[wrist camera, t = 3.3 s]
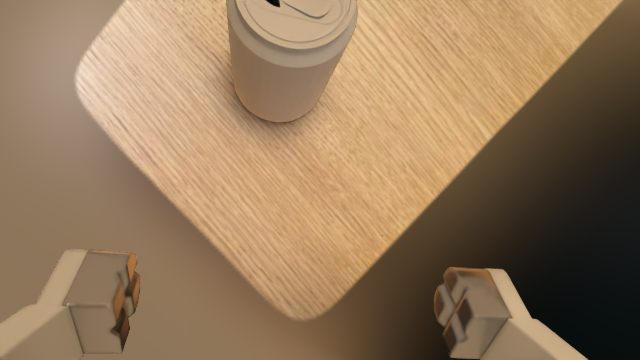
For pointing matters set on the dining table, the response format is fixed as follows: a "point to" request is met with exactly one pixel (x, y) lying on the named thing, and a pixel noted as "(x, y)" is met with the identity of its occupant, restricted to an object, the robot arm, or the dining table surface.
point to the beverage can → (286, 52)
